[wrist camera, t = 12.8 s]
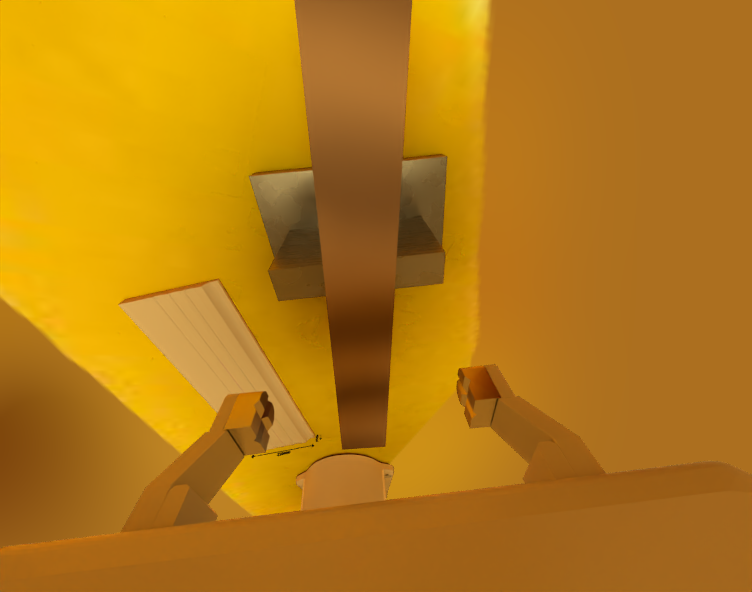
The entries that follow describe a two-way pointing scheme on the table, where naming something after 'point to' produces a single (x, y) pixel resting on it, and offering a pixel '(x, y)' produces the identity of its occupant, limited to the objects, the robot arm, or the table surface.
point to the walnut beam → (357, 189)
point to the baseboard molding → (216, 352)
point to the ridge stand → (301, 230)
